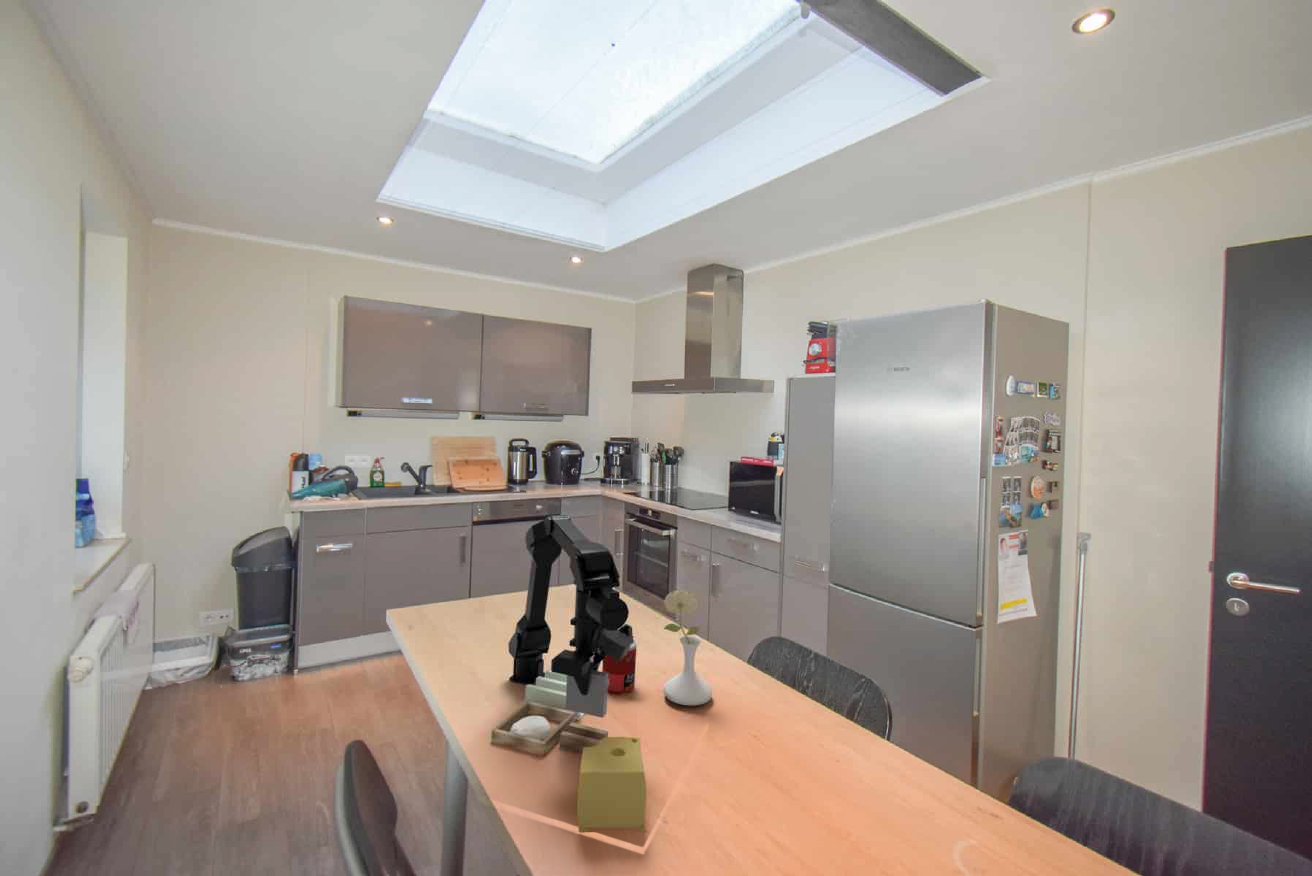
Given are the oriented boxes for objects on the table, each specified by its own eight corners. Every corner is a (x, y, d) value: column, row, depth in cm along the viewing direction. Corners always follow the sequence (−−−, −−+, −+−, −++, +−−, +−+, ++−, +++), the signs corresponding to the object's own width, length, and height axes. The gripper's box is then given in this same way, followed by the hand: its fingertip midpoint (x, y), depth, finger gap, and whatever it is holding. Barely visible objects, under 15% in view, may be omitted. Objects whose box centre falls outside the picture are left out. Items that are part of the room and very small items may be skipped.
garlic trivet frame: (491, 745, 110) (491, 730, 110) (526, 714, 122) (527, 700, 122) (543, 760, 107) (544, 744, 106) (575, 726, 118) (575, 712, 118)
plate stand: (557, 752, 109) (558, 735, 109) (572, 736, 115) (573, 720, 115) (595, 762, 107) (596, 745, 107) (608, 745, 112) (609, 729, 112)
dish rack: (521, 709, 124) (522, 687, 124) (547, 687, 135) (548, 667, 134) (578, 724, 120) (579, 700, 119) (600, 700, 130) (601, 678, 130)
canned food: (630, 697, 132) (632, 650, 132) (597, 692, 134) (599, 646, 133) (637, 682, 140) (640, 638, 139) (606, 678, 141) (608, 634, 141)
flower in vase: (718, 694, 136) (724, 590, 135) (701, 716, 125) (707, 603, 124) (668, 681, 141) (673, 581, 140) (648, 701, 131) (653, 593, 130)
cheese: (579, 791, 98) (581, 734, 98) (641, 791, 99) (643, 734, 99) (575, 835, 88) (578, 772, 88) (645, 834, 89) (647, 772, 89)
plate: (565, 708, 111) (567, 668, 111) (569, 705, 112) (571, 665, 112) (602, 717, 108) (604, 676, 108) (606, 713, 110) (608, 673, 110)
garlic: (514, 752, 109) (514, 733, 109) (505, 734, 115) (506, 716, 115) (554, 743, 113) (555, 724, 113) (544, 726, 119) (544, 708, 119)
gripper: (607, 636, 98) (603, 725, 99) (645, 605, 116) (642, 680, 116) (551, 626, 102) (547, 711, 103) (596, 596, 120) (593, 670, 120)
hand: (586, 692), depth 110 cm, fingers closed on plate, 2 cm apart
